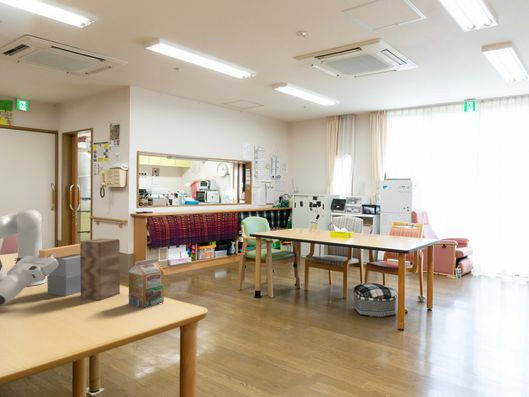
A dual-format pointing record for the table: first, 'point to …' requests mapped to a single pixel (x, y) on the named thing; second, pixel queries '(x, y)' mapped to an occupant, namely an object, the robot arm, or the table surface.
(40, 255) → the orange bar
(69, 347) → the table surface
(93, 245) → the walnut post
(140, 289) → the milk carton
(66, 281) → the slate pedestal
